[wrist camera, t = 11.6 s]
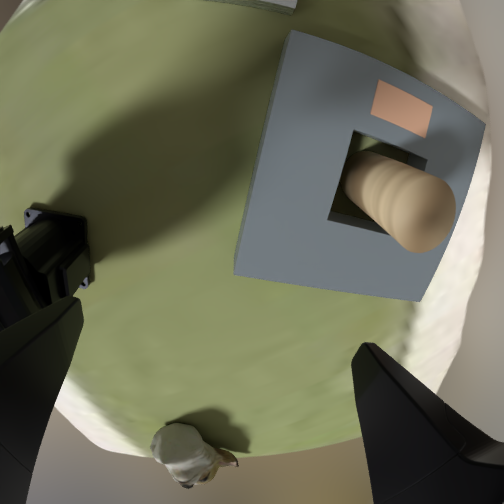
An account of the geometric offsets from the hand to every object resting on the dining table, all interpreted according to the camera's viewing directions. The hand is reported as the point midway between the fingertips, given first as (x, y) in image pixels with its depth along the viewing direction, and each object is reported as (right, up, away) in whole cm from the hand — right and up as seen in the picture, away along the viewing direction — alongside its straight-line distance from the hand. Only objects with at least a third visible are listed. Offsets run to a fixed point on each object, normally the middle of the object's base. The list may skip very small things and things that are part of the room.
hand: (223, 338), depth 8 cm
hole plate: (+9, +8, +11) cm, 16 cm away
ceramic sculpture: (-8, -24, +27) cm, 37 cm away
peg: (+9, +8, +11) cm, 16 cm away
